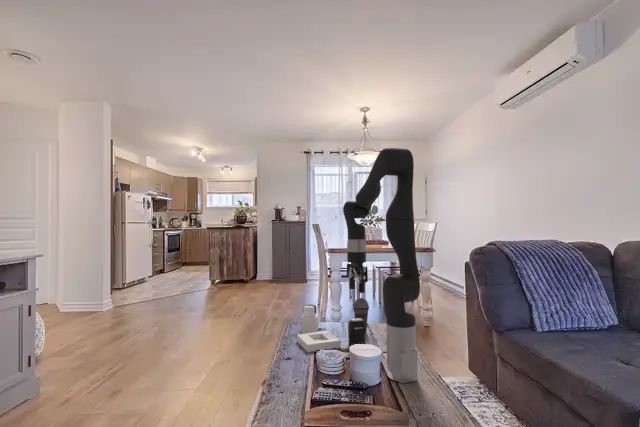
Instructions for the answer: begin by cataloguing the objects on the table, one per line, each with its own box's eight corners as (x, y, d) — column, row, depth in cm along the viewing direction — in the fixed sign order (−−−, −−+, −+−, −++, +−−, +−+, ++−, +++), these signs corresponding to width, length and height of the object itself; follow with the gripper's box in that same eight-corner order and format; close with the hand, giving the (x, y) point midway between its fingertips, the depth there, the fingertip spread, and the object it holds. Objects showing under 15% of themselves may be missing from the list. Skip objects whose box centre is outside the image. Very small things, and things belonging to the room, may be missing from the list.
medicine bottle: (303, 328, 176) (303, 303, 177) (318, 329, 175) (318, 303, 176) (300, 333, 169) (300, 306, 170) (316, 333, 168) (316, 307, 169)
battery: (350, 350, 146) (350, 321, 146) (347, 347, 150) (347, 319, 150) (367, 349, 148) (367, 320, 148) (363, 346, 151) (363, 317, 152)
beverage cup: (370, 335, 166) (369, 290, 166) (353, 335, 166) (353, 290, 166) (368, 330, 173) (368, 287, 173) (352, 330, 173) (352, 287, 174)
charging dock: (340, 347, 149) (340, 340, 150) (307, 352, 144) (307, 344, 145) (327, 337, 163) (327, 330, 163) (296, 341, 158) (296, 334, 158)
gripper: (373, 251, 144) (373, 293, 144) (357, 248, 157) (357, 287, 157) (356, 252, 142) (356, 294, 141) (340, 249, 155) (341, 288, 155)
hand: (356, 290), depth 149 cm, fingers open, 8 cm apart
